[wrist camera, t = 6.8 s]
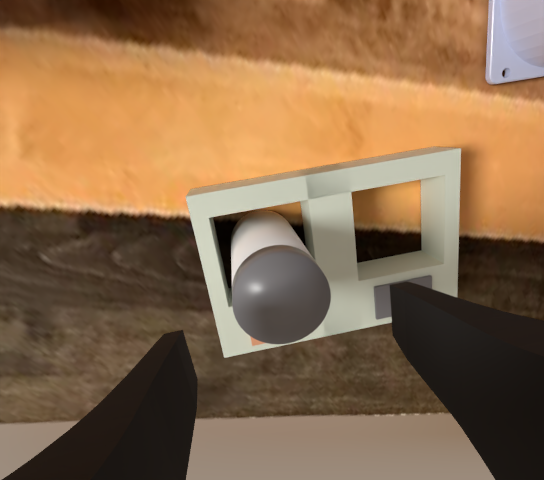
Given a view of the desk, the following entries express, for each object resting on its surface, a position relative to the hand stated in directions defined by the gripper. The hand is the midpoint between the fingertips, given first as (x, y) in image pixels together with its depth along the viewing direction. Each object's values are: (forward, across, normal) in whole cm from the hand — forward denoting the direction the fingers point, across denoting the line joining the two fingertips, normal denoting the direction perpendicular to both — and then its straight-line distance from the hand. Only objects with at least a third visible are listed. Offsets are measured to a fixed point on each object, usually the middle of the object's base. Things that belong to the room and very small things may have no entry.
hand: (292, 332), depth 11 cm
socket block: (+10, -4, +1) cm, 11 cm away
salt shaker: (+10, 0, 0) cm, 10 cm away
